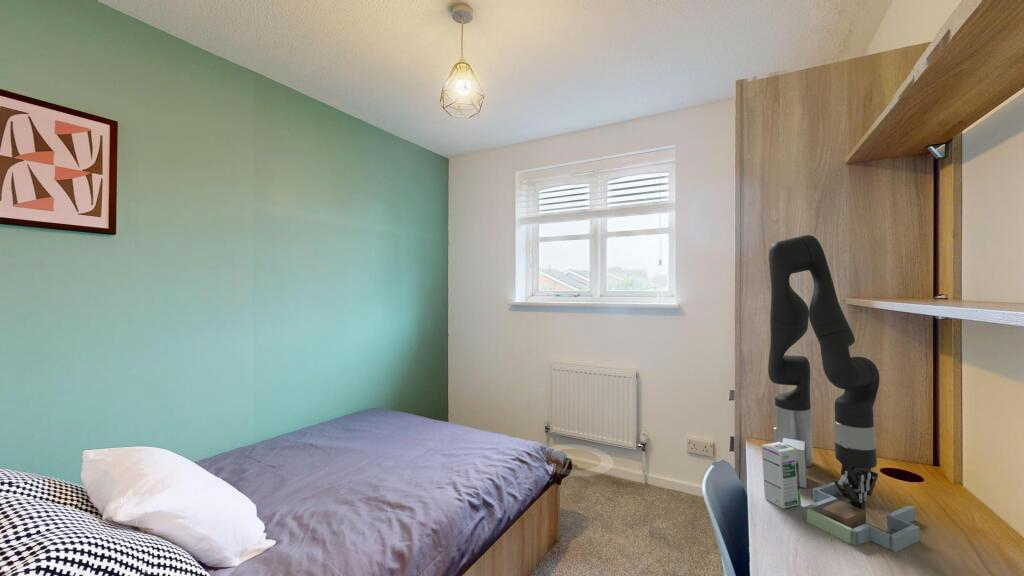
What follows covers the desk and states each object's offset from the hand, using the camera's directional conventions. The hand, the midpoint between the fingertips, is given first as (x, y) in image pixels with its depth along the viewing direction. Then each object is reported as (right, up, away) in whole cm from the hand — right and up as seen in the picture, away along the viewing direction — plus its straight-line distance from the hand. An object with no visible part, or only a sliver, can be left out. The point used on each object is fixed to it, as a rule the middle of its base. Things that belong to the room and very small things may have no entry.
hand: (858, 515), depth 96 cm
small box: (-1, -2, +20) cm, 20 cm away
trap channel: (+1, -1, 0) cm, 1 cm away
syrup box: (-12, -2, +9) cm, 15 cm away
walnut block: (-5, -2, -2) cm, 6 cm away
